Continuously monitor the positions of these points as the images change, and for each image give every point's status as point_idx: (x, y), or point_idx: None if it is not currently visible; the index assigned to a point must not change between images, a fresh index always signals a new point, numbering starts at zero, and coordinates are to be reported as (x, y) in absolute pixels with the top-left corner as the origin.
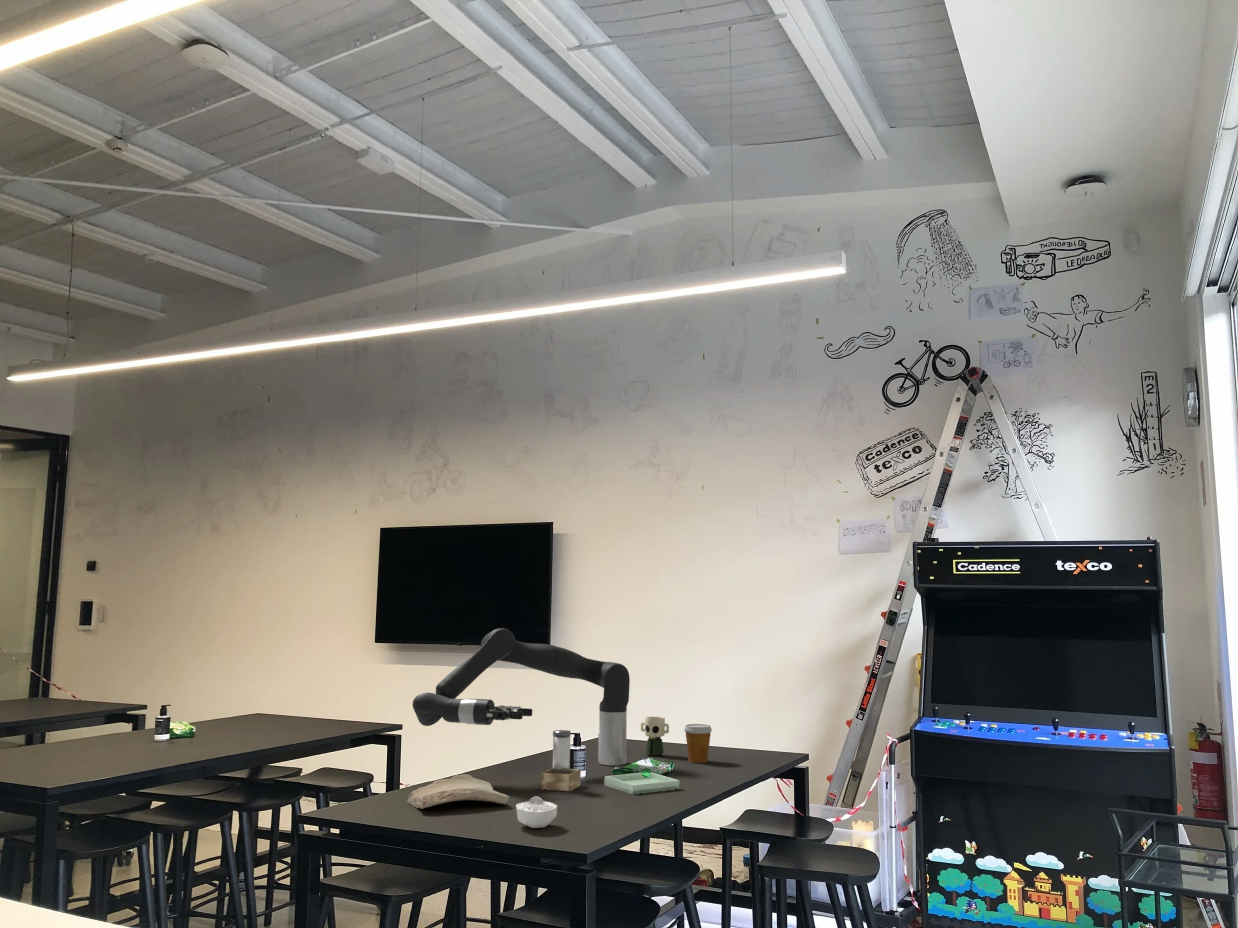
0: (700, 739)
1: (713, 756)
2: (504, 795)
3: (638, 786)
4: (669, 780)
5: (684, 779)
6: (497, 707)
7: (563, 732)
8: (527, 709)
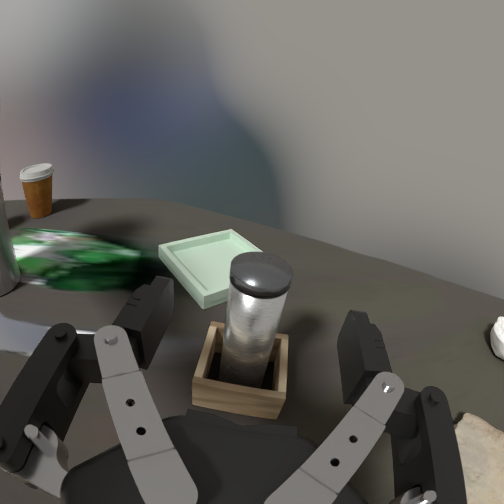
0: (50, 183)
1: (21, 204)
2: (473, 416)
3: None
4: (218, 237)
5: (157, 230)
6: (330, 501)
7: (289, 265)
8: (162, 297)
